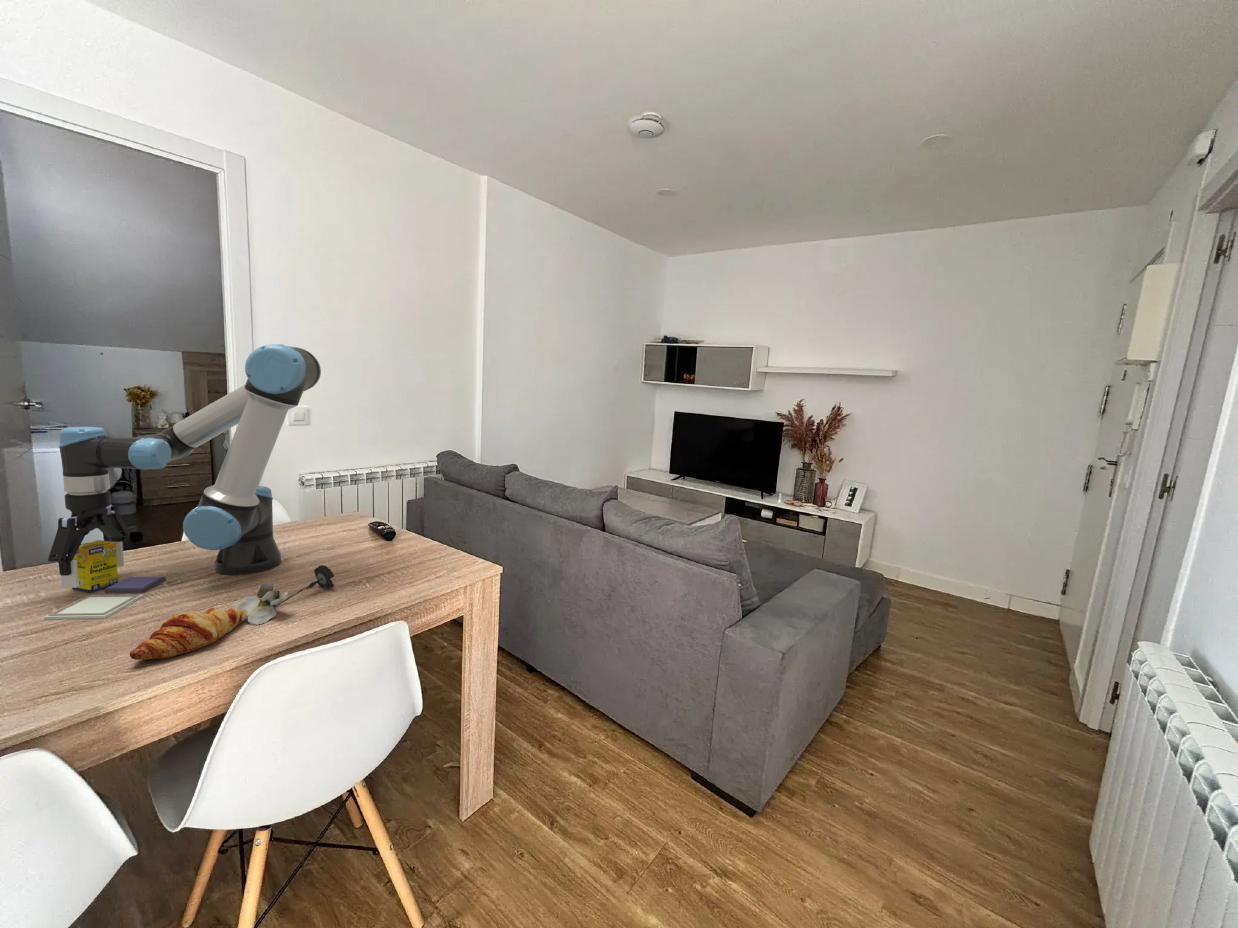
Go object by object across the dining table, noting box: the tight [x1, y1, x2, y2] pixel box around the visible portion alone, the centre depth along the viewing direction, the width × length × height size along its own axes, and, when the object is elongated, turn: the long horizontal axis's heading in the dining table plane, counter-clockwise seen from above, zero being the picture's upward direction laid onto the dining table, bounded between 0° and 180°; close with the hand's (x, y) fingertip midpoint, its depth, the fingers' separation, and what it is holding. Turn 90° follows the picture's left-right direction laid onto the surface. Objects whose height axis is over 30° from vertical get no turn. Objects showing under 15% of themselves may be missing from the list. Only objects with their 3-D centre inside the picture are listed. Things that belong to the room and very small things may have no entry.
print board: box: [44, 594, 144, 620], centre depth 113 cm, size 11×11×1 cm
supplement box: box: [71, 539, 119, 594], centre depth 122 cm, size 6×6×11 cm
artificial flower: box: [234, 564, 336, 626], centre depth 120 cm, size 9×22×10 cm, turn 160°
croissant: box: [129, 607, 248, 661], centre depth 102 cm, size 21×10×8 cm, turn 164°
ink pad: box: [103, 576, 167, 594], centre depth 124 cm, size 8×8×1 cm
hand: (95, 576), depth 122 cm, fingers open, 13 cm apart
